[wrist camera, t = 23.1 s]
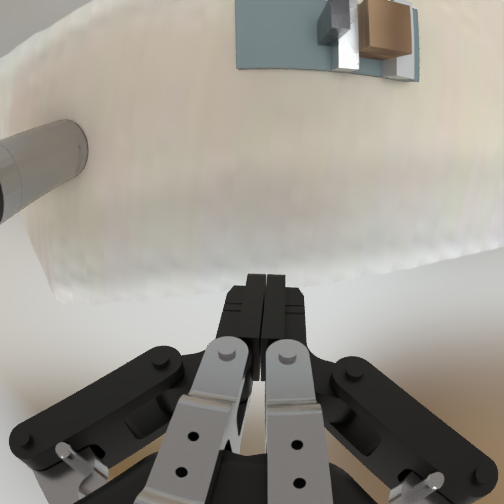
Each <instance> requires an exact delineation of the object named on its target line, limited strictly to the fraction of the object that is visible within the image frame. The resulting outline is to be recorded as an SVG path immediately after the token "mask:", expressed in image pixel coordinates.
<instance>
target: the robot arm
mask: <svg viewBox="0 0 504 504" xmlns="http://www.w3.org/2000/svg"><path fill="white" fill-rule="evenodd" d="M87 154H88V148H87V142H86V138H85V136H84V133H83V131H82V130H81V129H80V127H79V126H78V125H76V124H75V123H74V122H72V121H69V120H60V121H56V122H53V123H49V124H46V125H43V126H39V127H36V128H33V129H30V130H27V131H24V132H21V133H19V134H16V135H13V136H10V137H8V138H5V139H2V140H0V224H2V223H3V222H5V221H6V220H7V219H9V218H10V217H12V216H13V215H14V214H16V213H17V212H19V211H20V210H22V209H23V208H25V207H26V206H28V205H29V204H31V203H32V202H34V201H35V200H37V199H38V198H40V197H42V196H43V195H45V194H46V193H48V192H50V191H51V190H53V189H54V188H56V187H58V186H59V185H61V184H63V183H64V182H66V181H68V180H70V179H71V178H73V177H75V176H77V175H78V174H79V173H80V172H81V171H82V169H83V168H84V166H85V163H86V160H87ZM304 308H305V307H304V296H303V294H302V293H301V291H300V290H299V288H290V287H285V275H273V274H267V284H266V274H248V276H247V281H246V286H236V285H234V286H233V288H232V289H231V290H230V291H229V292H228V293H227V296H226V300H225V304H224V308H223V312H222V315H221V320H220V323H219V327H218V331H217V335H216V338H215V340H213V341H212V342H211V343H209V345H208V346H207V348H206V350H204V351H202V352H199V353H195V354H189V355H182V356H181V355H180V353H179V352H178V351H177V350H176V349H175V348H172V347H170V346H157V347H154V348H152V349H150V350H148V351H147V352H145V353H143V354H142V355H140V356H138V357H136V358H135V359H133V360H131V361H130V362H128V363H126V364H125V365H123V366H121V367H119V368H118V369H116V370H114V371H113V372H111V373H109V374H107V375H106V376H104V377H102V378H101V379H99V380H97V381H95V382H94V383H92V384H91V385H88V386H87V387H85V388H83V389H81V390H80V391H78V392H76V393H74V394H73V395H71V396H69V397H67V398H66V399H64V400H62V401H60V402H58V403H57V404H55V405H53V406H51V407H49V408H48V409H46V410H44V411H42V412H40V413H38V414H37V415H35V416H33V417H31V418H29V419H27V420H26V421H24V422H22V423H20V424H18V425H17V426H16V427H15V428H14V429H13V430H12V432H11V434H10V437H9V446H10V449H11V451H12V453H13V454H14V455H15V456H16V457H18V458H19V459H20V460H21V461H23V462H24V463H25V464H27V466H28V467H29V468H31V469H32V470H33V472H34V474H35V476H36V478H37V481H38V483H39V485H40V487H41V489H42V491H43V492H44V495H45V497H46V499H47V501H48V503H49V504H377V502H375V501H374V500H373V499H372V498H371V497H370V496H369V495H368V494H367V493H366V492H365V491H364V490H363V489H362V488H361V486H359V484H357V482H355V481H354V479H353V478H352V477H351V476H350V475H349V474H348V473H346V472H345V471H344V470H343V469H341V468H339V467H338V466H336V465H334V464H332V463H329V462H328V453H327V445H326V437H325V430H324V427H325V428H326V429H327V430H328V431H329V432H330V433H331V434H332V435H333V436H334V437H335V438H336V439H337V440H338V441H339V442H340V443H341V444H342V445H344V446H345V448H346V449H348V450H349V451H350V452H351V453H352V454H353V455H354V456H355V457H356V458H357V459H358V460H359V461H360V462H361V463H362V464H363V465H365V466H366V467H367V468H368V469H369V470H370V471H371V472H372V473H373V474H374V475H375V476H376V477H378V478H379V479H380V480H381V481H382V482H383V483H384V484H386V486H388V487H389V488H390V489H391V490H392V491H391V492H390V495H389V499H388V502H389V504H471V503H473V502H475V501H477V500H479V499H481V498H482V497H484V496H486V495H487V494H489V493H490V492H491V491H492V490H493V489H494V487H495V485H496V483H497V480H498V470H497V466H496V464H495V463H494V461H493V460H491V459H490V458H489V457H488V456H486V455H485V454H484V453H483V452H481V451H480V450H479V449H477V448H476V447H475V446H474V445H472V444H471V443H470V442H469V441H467V440H466V439H465V438H463V437H462V436H461V435H460V434H458V433H457V432H456V431H455V430H453V429H452V428H451V427H449V426H448V425H447V424H446V423H444V422H443V421H442V420H441V419H439V418H438V417H437V416H435V415H434V414H432V412H430V411H429V410H428V409H427V408H425V407H424V406H423V405H421V404H420V403H419V402H418V401H417V400H415V399H414V398H413V397H411V396H410V395H409V394H408V393H406V392H405V391H404V390H403V389H402V388H400V387H399V386H398V385H396V384H395V383H394V382H393V381H392V380H390V379H389V378H388V377H387V376H385V375H384V374H383V373H382V372H380V371H379V370H378V369H377V368H375V367H374V366H373V365H372V364H370V363H369V362H368V361H366V360H365V359H363V358H360V357H355V356H350V357H344V358H342V359H340V360H339V361H337V362H336V363H333V362H329V361H325V360H322V359H320V358H317V357H316V356H314V355H313V354H312V353H311V352H310V350H309V349H308V347H307V343H306V325H305V309H304ZM260 368H261V381H265V454H258V455H252V456H243V455H240V443H241V438H242V433H243V429H244V425H245V420H246V415H247V411H248V406H249V402H250V395H251V392H252V385H253V381H259V378H260ZM164 433H166V434H165V436H164V439H163V441H162V444H161V447H160V449H159V451H158V452H155V453H153V454H151V455H149V456H147V457H145V458H144V459H142V460H141V461H139V462H138V463H136V464H135V465H133V466H132V467H131V468H129V469H127V470H126V471H125V472H123V473H122V474H120V475H119V476H117V477H115V478H114V479H113V480H111V481H109V482H108V483H107V479H108V469H109V468H111V467H113V466H114V465H116V464H118V463H119V462H121V461H122V460H124V459H126V458H127V457H129V456H131V455H132V454H134V453H135V452H137V451H138V450H140V449H142V448H143V447H145V446H146V445H148V444H149V443H151V442H152V441H154V440H155V439H157V438H158V437H160V436H161V435H163V434H164Z"/></svg>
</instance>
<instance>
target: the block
mask: <svg viewBox="0 0 504 504" xmlns="http://www.w3.org/2000/svg"><path fill="white" fill-rule="evenodd" d="M357 9H358V34H359V57H361V58H368V59H374V60H380V61H383V60H387V59H391V58H396V57H400V56H405V55H410V54H412V33H411V14H410V6H409V5H405V4H401V3H397V2H392V1H388V0H364V1H363V2H362V3H361V4H360V5H359V6H358V7H357Z"/></svg>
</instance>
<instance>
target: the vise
mask: <svg viewBox="0 0 504 504" xmlns="http://www.w3.org/2000/svg"><path fill="white" fill-rule="evenodd" d="M391 1H392V2H397V3H401V4H405V5H409V6H410V14H411V33H412V54H410V55H405V56H400V57H396V58H391V59H387V60H383V61H380V60H374V59H368V58H361V57H359V70H355V71H351V72H343V71H333V70H331V46H326V45H318V35H317V21H318V19H319V17H320V15H321V13H322V11H323V9H324V7H325V5H326V3H327V0H235V21H236V68H237V69H302V70H319V71H332V72H343V73H352V74H360V75H368V76H375V77H381V78H387V79H393V80H399V81H404V82H419V28H418V12H417V9H414V8H412V2H409V1H405V0H391ZM358 6H359V4H357V7H358Z"/></svg>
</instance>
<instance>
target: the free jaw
mask: <svg viewBox="0 0 504 504" xmlns="http://www.w3.org/2000/svg"><path fill="white" fill-rule="evenodd" d="M317 35H318V45H326V46H331V70H333V71H343V72H351V71H355V70H359V34H358V9H357V0H328V1H327V3H326V5H325V7H324V9H323V11H322V13H321V15H320V17H319V19H318V21H317Z"/></svg>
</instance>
